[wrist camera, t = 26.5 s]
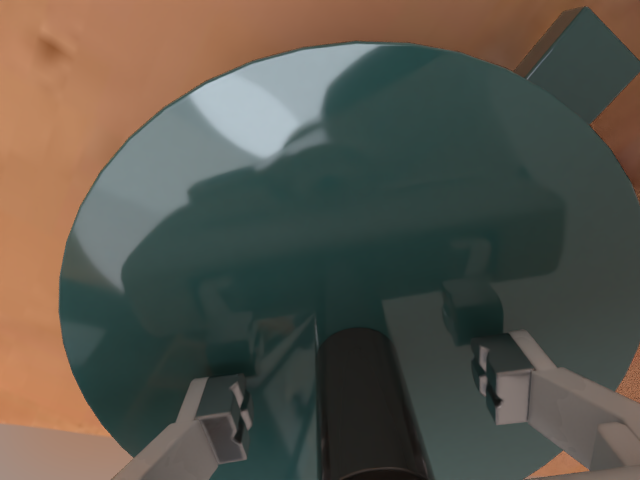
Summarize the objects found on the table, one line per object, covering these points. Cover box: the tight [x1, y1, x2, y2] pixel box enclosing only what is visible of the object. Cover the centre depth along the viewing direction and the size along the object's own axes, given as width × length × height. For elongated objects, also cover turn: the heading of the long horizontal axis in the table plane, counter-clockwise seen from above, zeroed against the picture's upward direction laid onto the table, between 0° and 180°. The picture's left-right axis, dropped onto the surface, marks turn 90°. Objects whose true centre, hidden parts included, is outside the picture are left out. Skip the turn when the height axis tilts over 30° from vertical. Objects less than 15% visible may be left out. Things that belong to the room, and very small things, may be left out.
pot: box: [513, 6, 640, 125], centre depth 16 cm, size 17×22×8 cm
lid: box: [59, 41, 640, 480], centre depth 11 cm, size 18×18×6 cm
